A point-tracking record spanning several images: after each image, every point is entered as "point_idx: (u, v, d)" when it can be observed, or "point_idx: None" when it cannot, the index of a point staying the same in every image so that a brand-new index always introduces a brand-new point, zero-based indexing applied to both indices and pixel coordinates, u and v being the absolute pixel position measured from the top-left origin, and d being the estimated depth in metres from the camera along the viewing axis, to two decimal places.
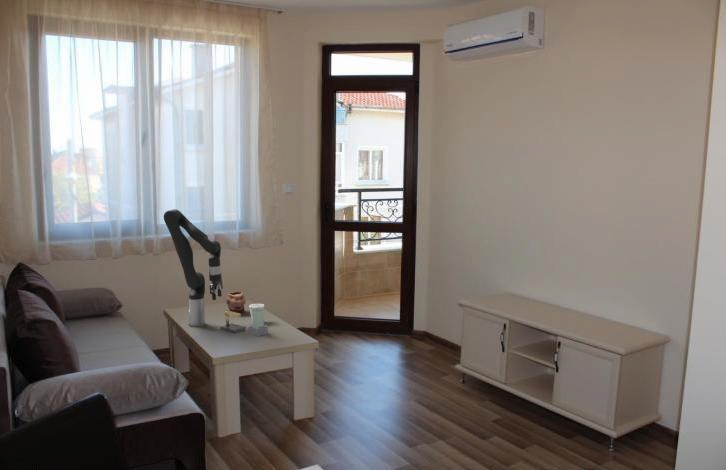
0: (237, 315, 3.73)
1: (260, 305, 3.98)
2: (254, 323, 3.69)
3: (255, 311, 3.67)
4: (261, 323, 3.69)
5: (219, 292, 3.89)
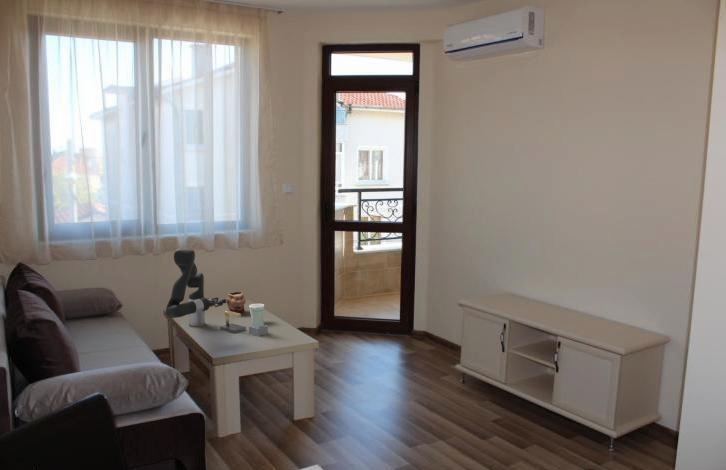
0: (237, 315, 3.73)
1: (260, 305, 3.98)
2: (254, 323, 3.69)
3: (255, 311, 3.67)
4: (261, 323, 3.69)
5: None
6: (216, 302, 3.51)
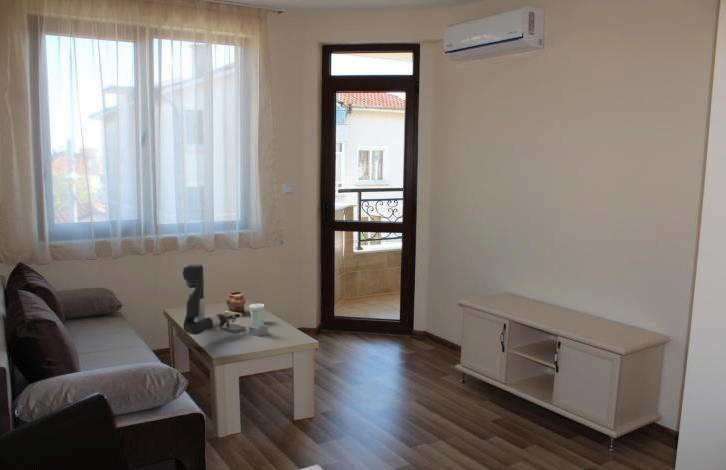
0: None
1: (260, 305, 3.98)
2: (254, 323, 3.69)
3: (255, 311, 3.67)
4: (261, 323, 3.69)
5: None
6: (233, 317, 3.64)
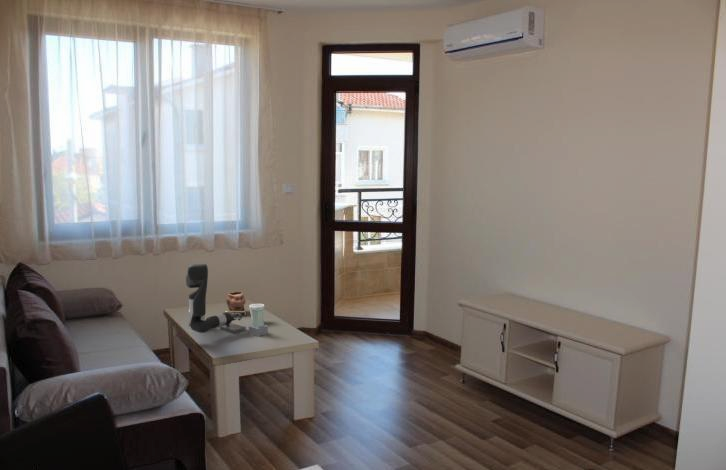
0: None
1: (260, 305, 3.98)
2: (254, 323, 3.69)
3: (255, 311, 3.67)
4: (261, 323, 3.69)
5: None
6: (239, 315, 3.68)
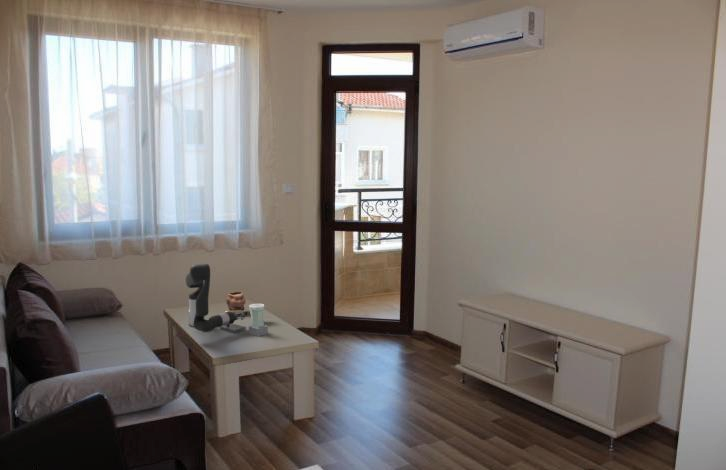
0: None
1: (260, 305, 3.98)
2: (254, 323, 3.69)
3: (255, 311, 3.67)
4: (261, 323, 3.69)
5: None
6: (242, 315, 3.69)
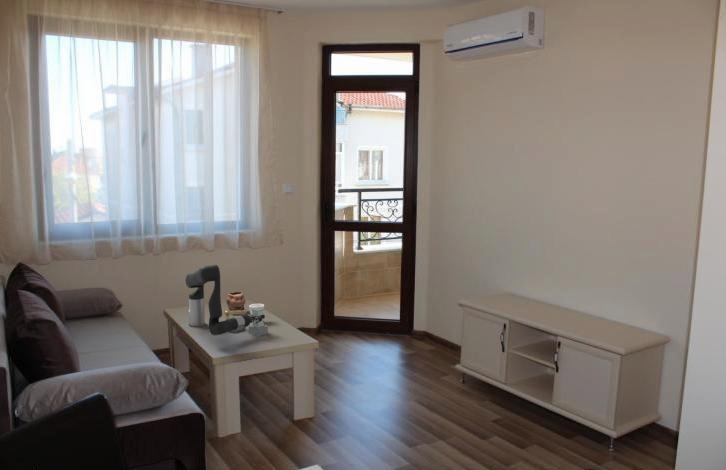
0: (243, 312, 3.80)
1: (260, 305, 3.98)
2: (254, 323, 3.69)
3: (255, 311, 3.67)
4: (261, 323, 3.69)
5: None
6: (257, 318, 3.61)
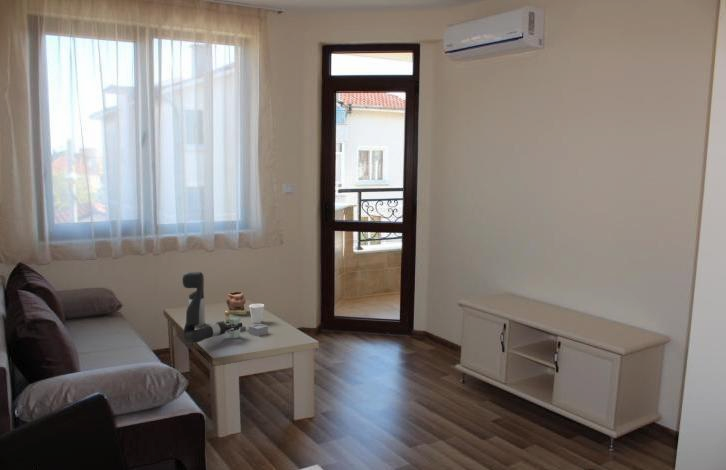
0: (243, 312, 3.80)
1: (260, 305, 3.98)
2: (230, 333, 3.63)
3: (231, 321, 3.61)
4: (238, 333, 3.63)
5: None
6: (232, 326, 3.53)
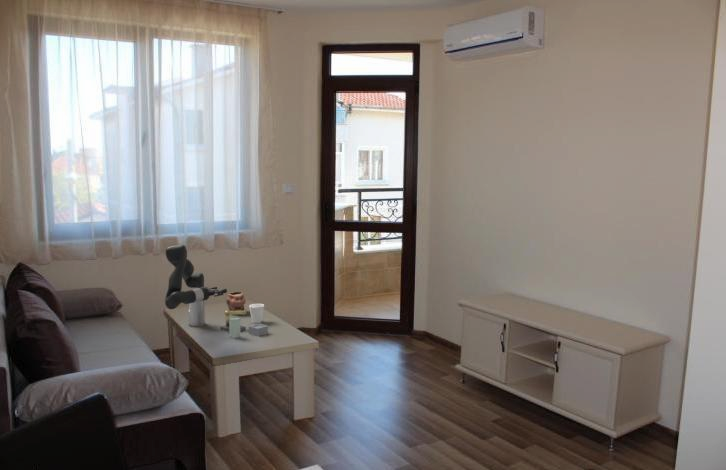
0: (243, 312, 3.80)
1: (260, 305, 3.98)
2: (230, 333, 3.63)
3: (231, 321, 3.61)
4: (238, 333, 3.63)
5: None
6: (216, 291, 3.43)
